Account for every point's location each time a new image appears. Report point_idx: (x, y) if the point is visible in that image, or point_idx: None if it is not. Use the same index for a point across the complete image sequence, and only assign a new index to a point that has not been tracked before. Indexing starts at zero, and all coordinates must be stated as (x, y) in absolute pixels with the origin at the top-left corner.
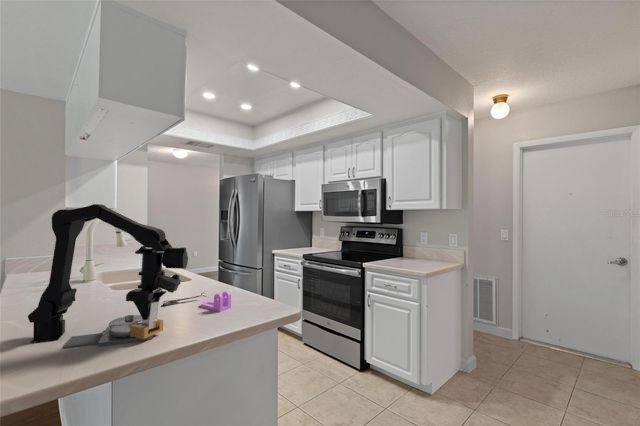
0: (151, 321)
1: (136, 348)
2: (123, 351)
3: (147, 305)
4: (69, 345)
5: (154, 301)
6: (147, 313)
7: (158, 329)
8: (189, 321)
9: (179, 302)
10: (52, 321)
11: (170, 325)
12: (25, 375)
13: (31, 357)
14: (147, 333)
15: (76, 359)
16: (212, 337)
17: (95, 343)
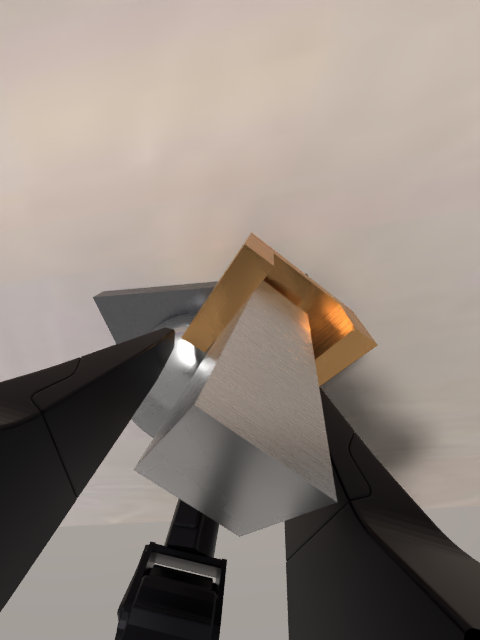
0: (295, 324)
1: (394, 322)
2: (397, 359)
3: (421, 520)
4: None
5: (189, 453)
6: (329, 400)
7: (276, 259)
8: (29, 62)
9: None
10: (206, 545)
11: (118, 208)
12: (416, 495)
13: None
14: (344, 309)
15: (380, 447)
16: None
17: None
